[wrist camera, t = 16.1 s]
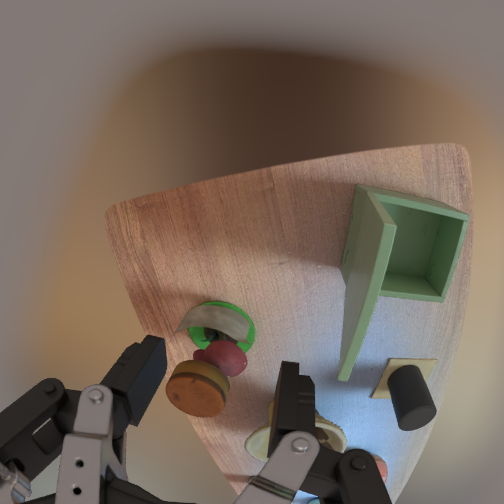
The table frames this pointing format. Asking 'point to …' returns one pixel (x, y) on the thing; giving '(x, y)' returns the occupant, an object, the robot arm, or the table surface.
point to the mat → (395, 363)
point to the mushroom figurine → (211, 358)
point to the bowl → (324, 430)
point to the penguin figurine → (314, 502)
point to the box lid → (365, 280)
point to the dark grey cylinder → (410, 398)
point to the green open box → (412, 244)
